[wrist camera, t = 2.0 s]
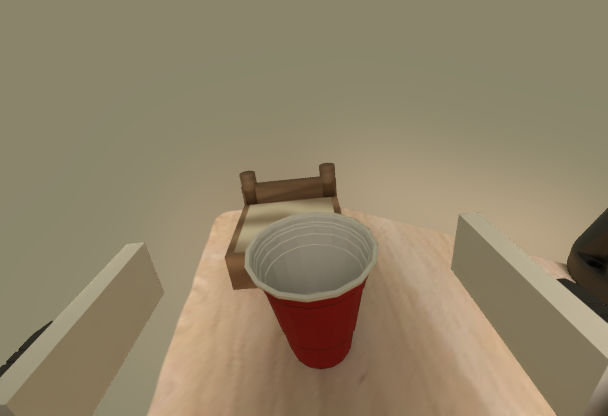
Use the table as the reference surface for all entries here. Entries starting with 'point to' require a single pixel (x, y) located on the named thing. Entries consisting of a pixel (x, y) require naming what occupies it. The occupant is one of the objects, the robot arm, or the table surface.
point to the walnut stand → (276, 211)
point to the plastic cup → (314, 280)
